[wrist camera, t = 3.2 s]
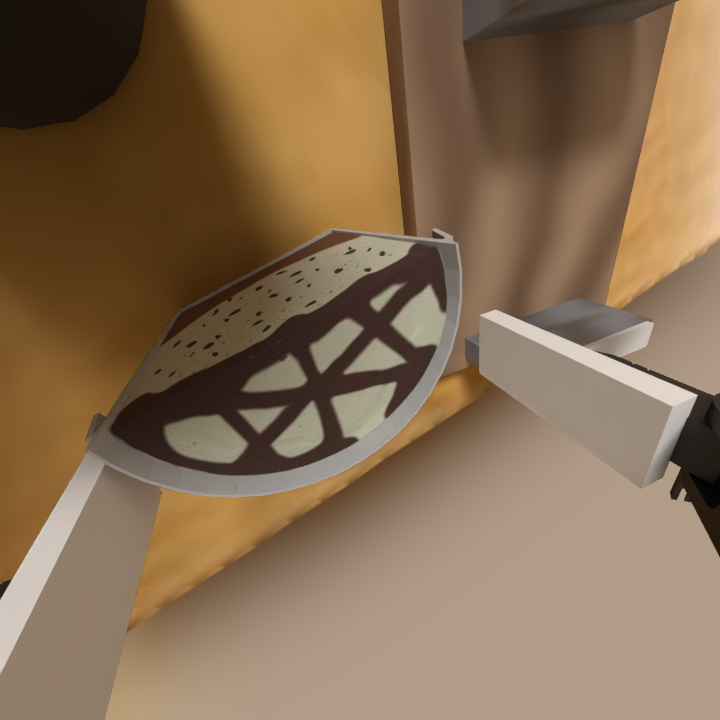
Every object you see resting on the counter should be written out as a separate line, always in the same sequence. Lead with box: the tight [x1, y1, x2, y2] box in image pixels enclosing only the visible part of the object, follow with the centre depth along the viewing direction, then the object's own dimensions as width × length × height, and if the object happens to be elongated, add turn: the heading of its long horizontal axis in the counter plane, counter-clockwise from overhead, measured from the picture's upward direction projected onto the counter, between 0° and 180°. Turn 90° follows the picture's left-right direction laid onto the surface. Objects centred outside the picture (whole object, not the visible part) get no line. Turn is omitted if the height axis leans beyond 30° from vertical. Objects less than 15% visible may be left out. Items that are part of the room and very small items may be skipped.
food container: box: [85, 228, 462, 497], centre depth 14 cm, size 12×6×10 cm, turn 114°
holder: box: [382, 0, 678, 378], centre depth 18 cm, size 16×20×7 cm
